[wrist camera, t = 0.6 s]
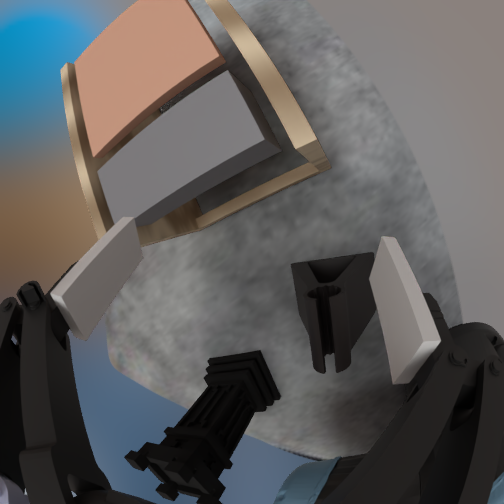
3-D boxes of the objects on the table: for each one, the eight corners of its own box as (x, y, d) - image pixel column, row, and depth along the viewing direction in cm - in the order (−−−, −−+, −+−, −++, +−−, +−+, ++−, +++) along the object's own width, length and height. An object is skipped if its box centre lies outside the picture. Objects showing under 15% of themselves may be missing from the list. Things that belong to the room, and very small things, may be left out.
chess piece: (232, 400, 37) (162, 498, 19) (209, 358, 36) (119, 453, 18) (280, 396, 34) (223, 515, 16) (260, 350, 33) (178, 471, 15)
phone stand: (373, 252, 27) (390, 290, 16) (377, 305, 27) (390, 368, 16) (291, 262, 30) (257, 304, 19) (299, 313, 31) (271, 375, 20)
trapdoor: (282, 150, 17) (264, 139, 13) (151, 224, 22) (117, 231, 18) (192, -3, 16) (169, -23, 12) (102, 70, 21) (74, 62, 17)
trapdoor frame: (331, 167, 26) (316, 139, 12) (200, 230, 33) (105, 258, 19) (248, 27, 25) (188, -43, 11) (146, 96, 31) (60, 70, 18)
